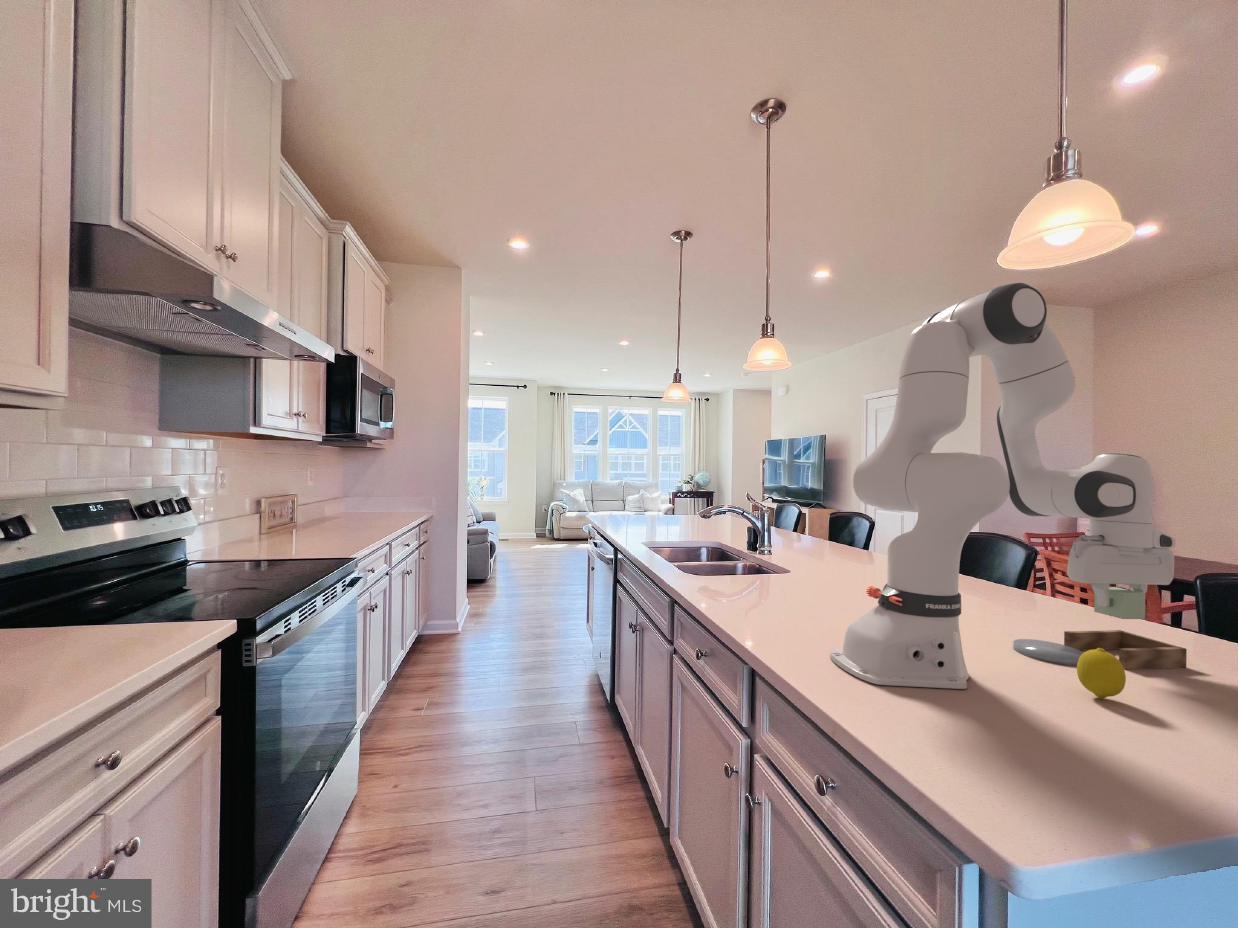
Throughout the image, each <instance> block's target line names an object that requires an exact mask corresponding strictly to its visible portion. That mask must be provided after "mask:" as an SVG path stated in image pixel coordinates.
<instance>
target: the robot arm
mask: <svg viewBox="0 0 1238 928" xmlns="http://www.w3.org/2000/svg"><path fill="white" fill-rule="evenodd" d="M1047 309H1048V308H1047V303H1046V301H1045V298H1044V297H1043V295H1042V293H1040V291H1039V290H1037V289H1036V288H1035V287H1033V286H1031V285H1029V284H1027V283H1024V282H1016V283H1013V282H1012V283H1009V284H1004V285H1001V286H997V287H995V288H993V289H992V290H990V291H987V292H984V293H981V294H977V295H975V296H973V297H970V298H969V297H968V298H965V299H963V300H961V301H958V302H957V303H955V304H953V305H951V306H949V307H947V308H945V309H944V310H942V311H939V312H936V313H934V314H933V315H931V316H929V317H928V318H927V319H926V320H925V321H924V322H923V323H922V324H921V325H920V326H918V327H916V328H915V329H914V330H913V331H912V332H911V333H910V335H909V336H908V339H907V342H906V344H905V348H904V353H903V354H902V360H901V363H900V370H899V377H898V386H897V395H896V401H895V409H894V413H893V419H892V420H891V424H890V426H889V428H888V431H887V432H886V434H885V436H884V438H883V439H882V441H881V442H880V444H879V445H878V446H877V447H876V448H875V449H874V451H873V452H872V453H871V454H869V455H868V456H867V457H866V458H864V459H862V460H861V461H860V462H859V463H858V464H857V466H856V467H855V470H854V472H853V474H852V487H853V490H854V494H855V495H856V497H857V498H858V500H859V501H860V502H862V503H863V504H866V505H869V506H872V507H875V508H878V509H883V510H885V511H897V512H898V511H899V512H909V513H918V515H917V520H916V523H915V525H914V527H913V528H912V529H911V530H909V531H906V532H904V533H902V534H900V535H897V536H896V537H895V538H893V539H892V541H890V543H889V545H888V547H887V565H886V566H887V571H886V572H887V576H886V577H887V578H886V579H887V581H886V583H885V585H884V586H883V589H882V590H881V589H880V588H879V587H875V586H873V585H869V586H868V587H867V588H866V595H867V596H868V597H869V598H873V599H875V600H877V599H878V600H877V603H878V604H877V605H876V606H875V607H873V608H871V609H870V610H869V611H868V612H866V613H865V614H863V615H862V616H860V617H859V618H858V619H857V620H855V621H853V622H852V623H850V624H849V625H848V626H847V628H846V631H845V634H844V639H843V647H840V648H833V649H831V650H830V654H829V657H830V659H831V660H832V662H834V663H835V664H836V665H837V666H838V667H839V668H841V669H842V670H843V671H846V672H847V673H848V674H851V675H853V676H855V677H856V678H858V679H861V680H863V681H865V682H868V683H871V684H875V685H880V686H895V687H896V686H897V687H915V688H917V687H918V688H919V687H920V688H933V689H934V688H935V689H936V688H938V689H939V688H940V689H957V690H966V689H967V688H968V682H967V680H968V679H969V677H970V674H969V672H968V668H967V665H966V660H965V657H964V652H963V645H962V637H961V632H960V631H961V630H960V629H961V628H960V622H959V621H960V619H959V617H960V615H962V594H961V593H960V592H959V579H960V578H959V577H960V575H959V574H960V564H961V563H960V561H961V555H962V550H963V546H964V545H965V544H964V543H966V540H967V537H968V536H969V535H970V533H971V531H972V530H973V529H974V528H975V527H976V526H977V525H978V524H979V523H980V522H981V521H982V520H984V519H985V518H987V517H988V516H989V515H992V514H993V513H995V512H998V510H1000V508H1001V507H1002V506H1003V505H1004V503H1005V502H1006V501H1007V499H1008V496H1009V498H1010V500H1011V501H1010V502H1011V503H1012V504H1013V505H1014V507H1015V509H1017V510H1018V511H1019V512H1021V513H1022V514H1024V515H1026V516H1029V517H1060V518H1077V519H1089V522H1088V525H1089V527H1088V528H1089V532H1088V534H1089V535H1086V534H1082V535H1081V534H1080V535H1079V536H1078V537H1077V538H1075V540H1073V542H1072V546H1071V548H1070V550H1069V555H1068V561H1067V569H1066V570H1067V571H1066V574H1067V576H1068V578H1069V580H1071V581H1073V582H1077V583H1081V584H1088V585H1091V589H1092V590H1093V592H1095V594H1096V596H1097V604H1098V605H1099V606H1103V607H1112V606H1113V598H1110V597H1109V594H1108V592H1107V589H1109V587H1110V585H1128V587H1129V588H1130V590H1132V591H1137V592H1142V593H1145V594H1146V593H1147V591H1148V585H1159V586H1161V585H1162V586H1168V585H1170V584H1171V583H1172V581H1173V580H1174V576H1175V555H1174V552H1173V551H1172V549H1174V548H1175V547H1176V539H1175V537H1173V536H1171V535H1169V534H1167V533H1164V532H1161V531H1160V530H1157V529H1155V528H1154V519H1153V516H1152V513H1151V509H1152V506H1153V503H1154V499H1155V498H1154V497H1155V496H1154V494H1155V491H1154V490H1155V488H1154V487H1155V486H1154V478H1153V476H1154V475H1153V473H1152V468H1151V466H1150V463H1149V461H1148V460H1147V459H1146V458H1143V456H1139V455H1133V454H1127V453H1102V454H1097V456H1095V458H1094V460H1092V462H1090V463H1089V464H1088V463H1087V465H1084V466H1081V467H1077V468H1075V469H1074V468H1073V469H1050V468H1048V467H1046V466H1044V465H1043V463H1042V459H1041V455H1040V452H1039V447H1038V441H1037V438H1036V437H1037V436H1036V433H1035V432H1036V426H1037V425H1038V423H1039V422H1040V421H1041V420H1042V419H1044V418H1046V417H1048V416H1049V415H1052V414H1053V413H1055V412H1056V411H1059V410H1060V409H1061V408H1062V407H1064V406H1065V405H1066V404H1067V403H1068V402H1069V401H1070V399H1071V398H1072V396H1073V394H1074V393H1075V390H1076V385H1077V384H1076V377H1075V373H1074V370H1073V368H1072V366H1071V363H1070V361H1069V359H1068V356H1067V354H1066V351H1065V350H1064V348H1063V346H1062V344H1061V342H1060V340H1059V339H1058V337H1057V335H1056V334H1055V332H1054V331H1053V330H1052V328H1051V326H1050V325H1049V324H1048V322H1047V320H1046V319H1047V313H1048V310H1047ZM982 355H986V356H987V357H988V358H989V361H990V364H991V369H992V372H993V375H994V378H995V380H996V383H997V386H998V388H999V392H1000V399H1001V400H1000V403H1001V405H1000V406H999V407H998V409H997V411H996V424H997V425H996V426H997V429H998V435H999V439H1000V444H1001V448H1002V453H1003V456H1004V460H1005V465H1006V468H1007V470H1006V469H1005V467H1004V466H1003V465H1002V463H1001V462H1000V461H999V460H997V459H996V458H995V457H992V456H988V455H982V454H976V453H975V454H974V453H967V452H961V451H960V452H932V450H933V448H934V447H935V445H936V444H937V443H938V442H939V441H940V440H941V439H942V438H944V437H945V436H947V435H949V434H951V433H953V432H955V431H956V430H958V429H959V428H960V427H961V426H962V424H963V422H964V421H965V419H966V417H967V416H966V415H967V404H968V394H969V393H968V392H969V383H970V382H969V381H970V358H971V357H976V356H982Z"/></svg>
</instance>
